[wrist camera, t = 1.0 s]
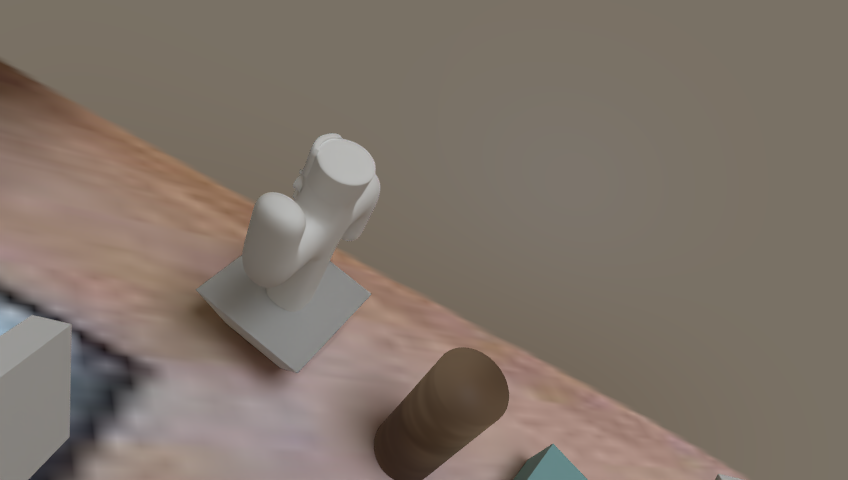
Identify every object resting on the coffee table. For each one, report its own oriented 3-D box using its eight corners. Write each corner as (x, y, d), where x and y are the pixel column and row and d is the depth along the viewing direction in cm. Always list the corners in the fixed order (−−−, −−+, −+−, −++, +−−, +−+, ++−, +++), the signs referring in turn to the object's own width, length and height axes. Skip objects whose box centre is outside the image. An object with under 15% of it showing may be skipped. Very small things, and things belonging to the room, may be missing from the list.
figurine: (363, 313, 38) (456, 158, 28) (270, 415, 32) (346, 261, 21) (282, 249, 39) (344, 74, 28) (174, 335, 32) (202, 147, 22)
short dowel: (360, 443, 33) (418, 376, 26) (404, 403, 35) (466, 333, 29) (407, 498, 32) (479, 442, 25) (448, 452, 34) (522, 391, 28)
